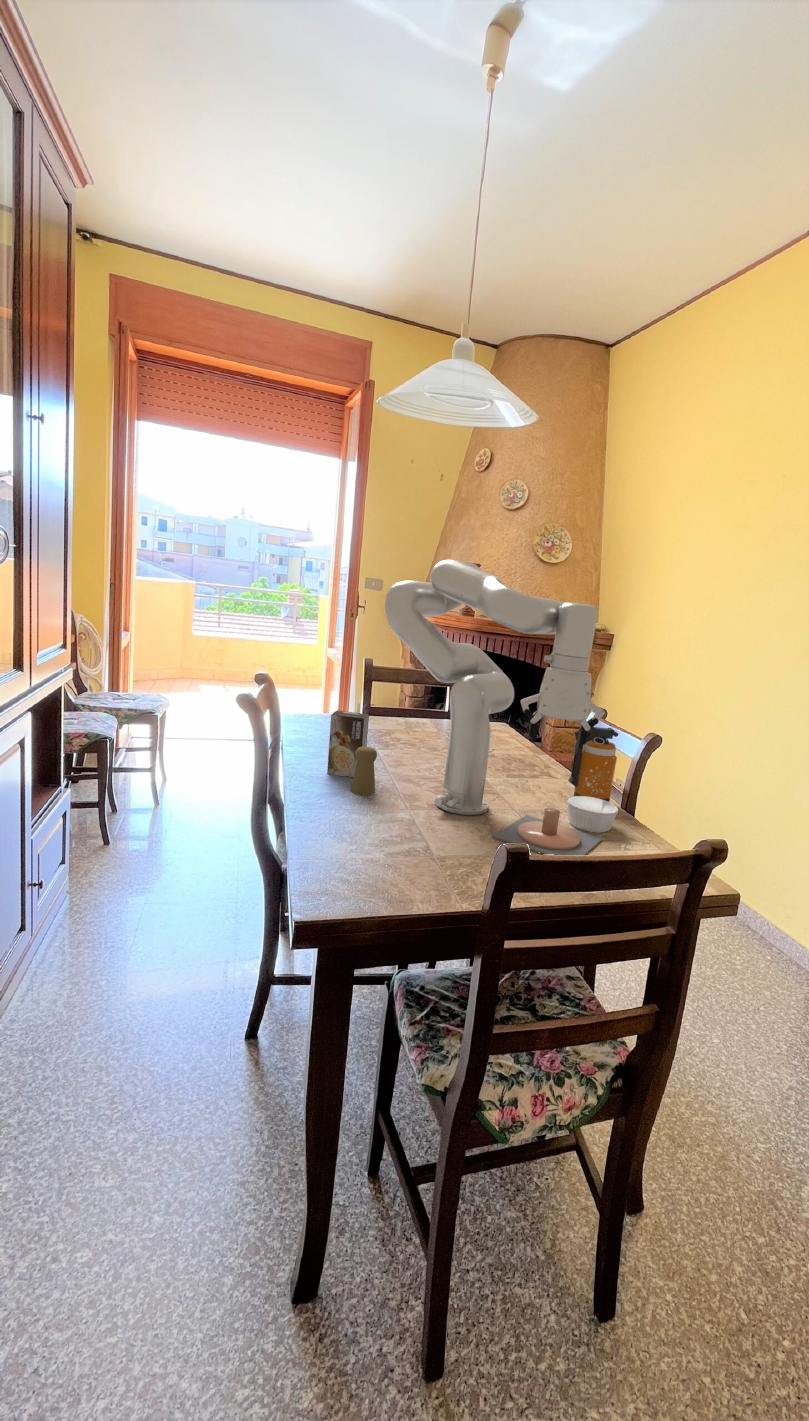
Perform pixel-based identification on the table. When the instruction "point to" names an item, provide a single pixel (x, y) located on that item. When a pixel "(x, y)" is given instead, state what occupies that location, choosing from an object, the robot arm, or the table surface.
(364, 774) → the cork
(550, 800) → the table surface
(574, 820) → the ramekin
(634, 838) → the table surface
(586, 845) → the mat
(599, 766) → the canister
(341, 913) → the table surface
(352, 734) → the coffee box
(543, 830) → the lid
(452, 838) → the table surface
